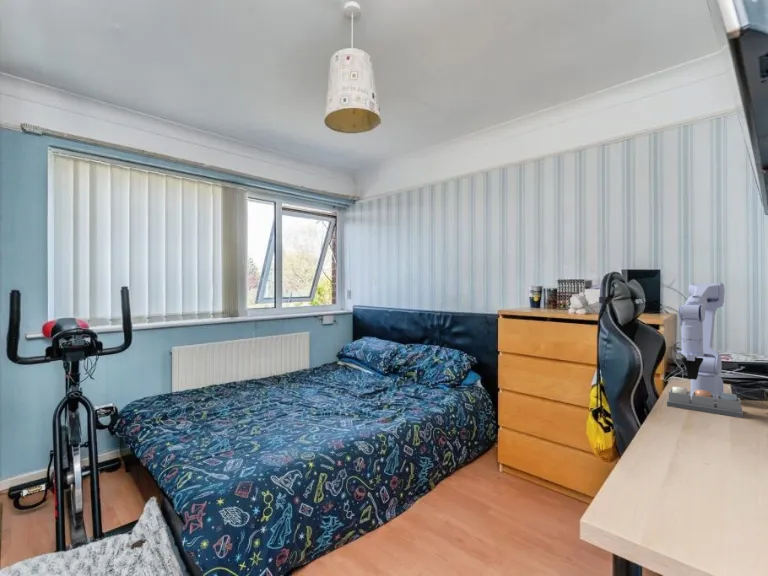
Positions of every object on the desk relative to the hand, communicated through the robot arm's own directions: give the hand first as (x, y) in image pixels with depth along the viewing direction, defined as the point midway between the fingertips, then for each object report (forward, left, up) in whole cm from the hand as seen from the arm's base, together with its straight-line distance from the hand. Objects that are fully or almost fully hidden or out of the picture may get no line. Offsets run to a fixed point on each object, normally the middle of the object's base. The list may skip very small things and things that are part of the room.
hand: (692, 378), depth 126 cm
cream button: (+2, -3, -7) cm, 7 cm away
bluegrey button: (-5, +7, -7) cm, 11 cm away
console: (-1, +2, -9) cm, 10 cm away
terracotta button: (-1, +3, -7) cm, 7 cm away
